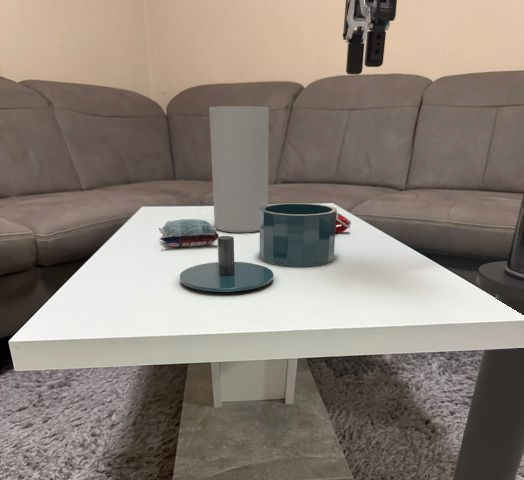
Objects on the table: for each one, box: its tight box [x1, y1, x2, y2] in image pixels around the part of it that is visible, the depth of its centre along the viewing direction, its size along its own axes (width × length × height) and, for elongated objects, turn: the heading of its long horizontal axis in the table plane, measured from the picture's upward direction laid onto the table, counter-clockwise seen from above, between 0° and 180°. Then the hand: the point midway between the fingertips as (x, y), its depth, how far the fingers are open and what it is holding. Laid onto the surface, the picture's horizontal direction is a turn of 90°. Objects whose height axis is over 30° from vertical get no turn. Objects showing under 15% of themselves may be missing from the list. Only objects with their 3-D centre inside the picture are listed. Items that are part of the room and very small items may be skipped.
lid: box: [179, 235, 274, 293], centre depth 68 cm, size 14×14×7 cm
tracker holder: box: [335, 212, 352, 234], centre depth 101 cm, size 12×4×10 cm
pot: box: [259, 202, 338, 268], centre depth 81 cm, size 13×13×8 cm
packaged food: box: [157, 218, 220, 248], centre depth 91 cm, size 9×12×5 cm
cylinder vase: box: [208, 105, 270, 234], centre depth 101 cm, size 12×12×25 cm
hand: (362, 70), depth 62 cm, fingers open, 8 cm apart
